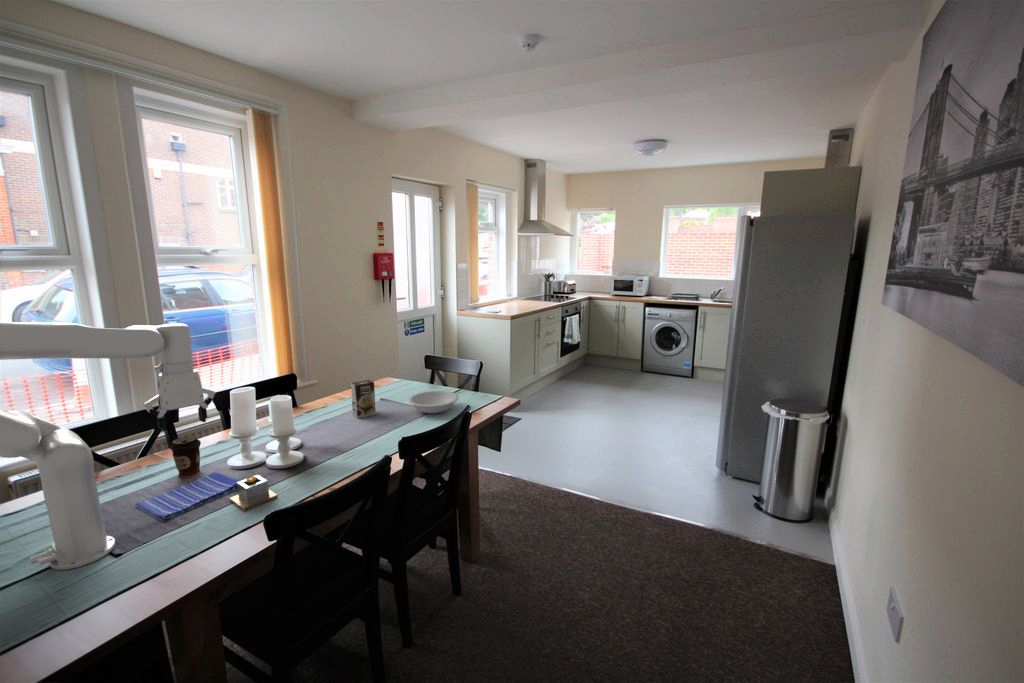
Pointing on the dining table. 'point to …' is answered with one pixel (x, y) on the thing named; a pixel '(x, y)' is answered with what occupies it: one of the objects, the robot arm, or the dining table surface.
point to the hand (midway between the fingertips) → (183, 425)
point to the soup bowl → (433, 401)
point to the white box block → (253, 489)
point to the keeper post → (246, 506)
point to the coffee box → (363, 399)
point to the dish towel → (188, 496)
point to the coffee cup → (186, 456)
